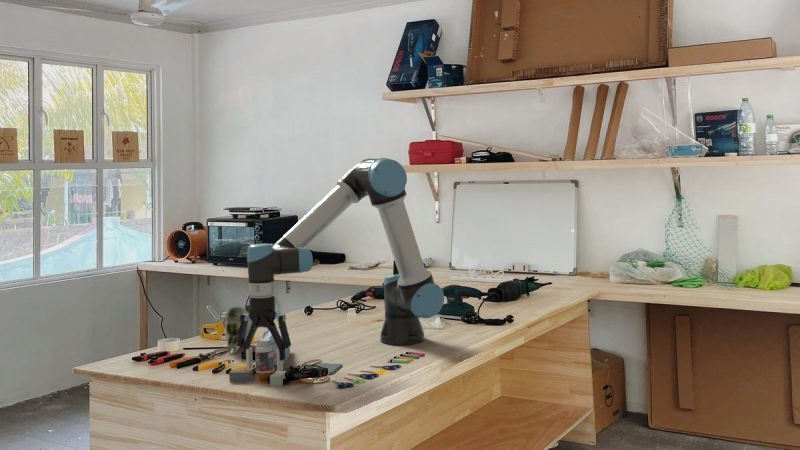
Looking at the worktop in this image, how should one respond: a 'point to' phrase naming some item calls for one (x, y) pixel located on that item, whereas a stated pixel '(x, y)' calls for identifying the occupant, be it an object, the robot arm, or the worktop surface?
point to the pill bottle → (264, 356)
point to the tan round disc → (312, 380)
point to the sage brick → (277, 378)
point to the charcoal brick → (241, 375)
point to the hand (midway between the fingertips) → (265, 370)
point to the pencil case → (274, 345)
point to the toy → (235, 325)
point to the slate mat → (330, 367)
